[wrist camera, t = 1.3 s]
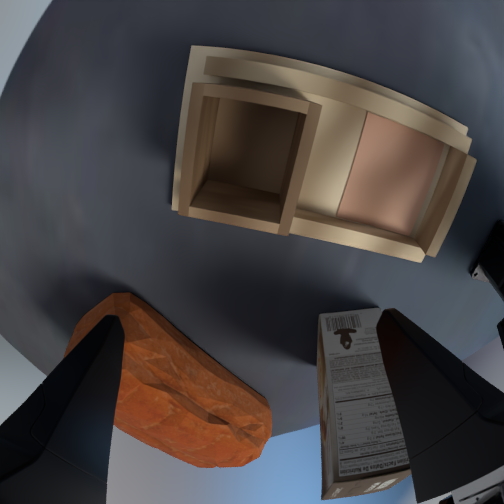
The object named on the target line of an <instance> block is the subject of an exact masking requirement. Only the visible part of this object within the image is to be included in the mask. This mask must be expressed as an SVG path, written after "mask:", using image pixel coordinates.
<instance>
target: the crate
mask: <svg viewBox="0 0 504 504" xmlns="http://www.w3.org/2000/svg"><path fill="white" fill-rule="evenodd" d="M322 106H323V105H320V104H317V103H314V102H312V101H308V100H304V99H300V98H296V97H291V96H287V95H282V94H277V93H273V92H267V91H262V90H257V89H251V88H245V87H238V86H231V85H224V84H216V83H198V82H193V83H192V89H191V96H190V102H189V109H188V116H187V124H186V132H185V140H184V149H183V158H182V168H181V179H180V191H179V204H178V215H183V216H188V217H193V218H199V219H204V220H209V221H214V222H219V223H225V224H230V225H235V226H240V227H245V228H250V229H255V230H260V231H265V232H270V233H274V234H279V235H284V236H288V235H289V231H290V228H291V224H292V221H293V217H294V214H295V210H296V206H297V203H298V199H299V195H300V192H301V188H302V184H303V180H304V177H305V173H306V169H307V165H308V161H309V158H310V154H311V150H312V146H313V142H314V138H315V134H316V130H317V126H318V122H319V118H320V114H321V110H322Z"/></svg>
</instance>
